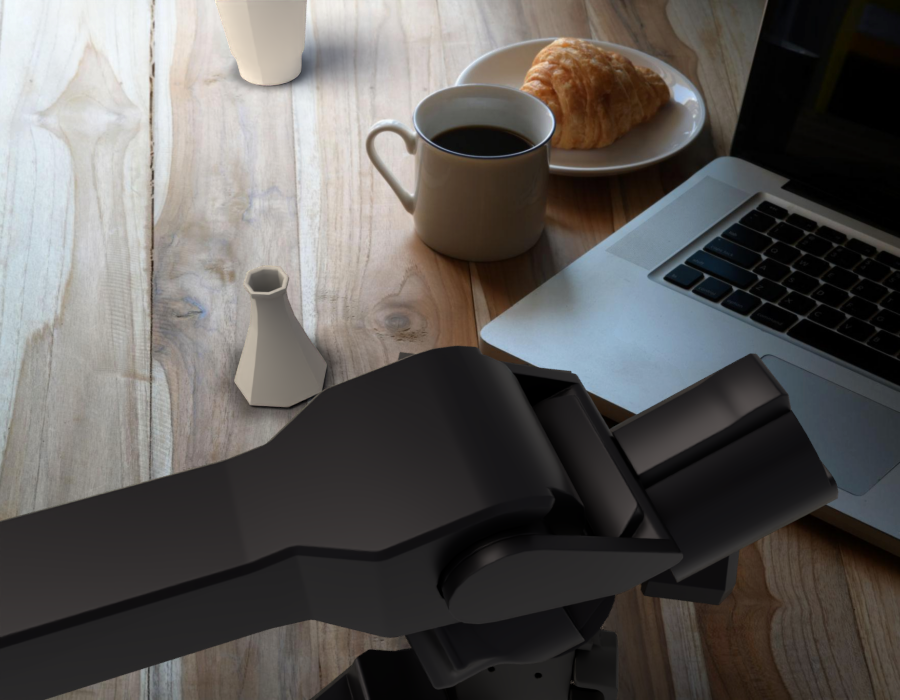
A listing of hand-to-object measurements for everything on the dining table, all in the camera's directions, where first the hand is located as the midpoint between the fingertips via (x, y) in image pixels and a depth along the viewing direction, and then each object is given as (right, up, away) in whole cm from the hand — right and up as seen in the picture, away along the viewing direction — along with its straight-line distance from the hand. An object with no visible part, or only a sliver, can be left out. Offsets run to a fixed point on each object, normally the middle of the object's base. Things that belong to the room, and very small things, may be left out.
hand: (529, 481), depth 51 cm
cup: (-25, +39, +53) cm, 70 cm away
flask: (-18, +5, +21) cm, 28 cm away
